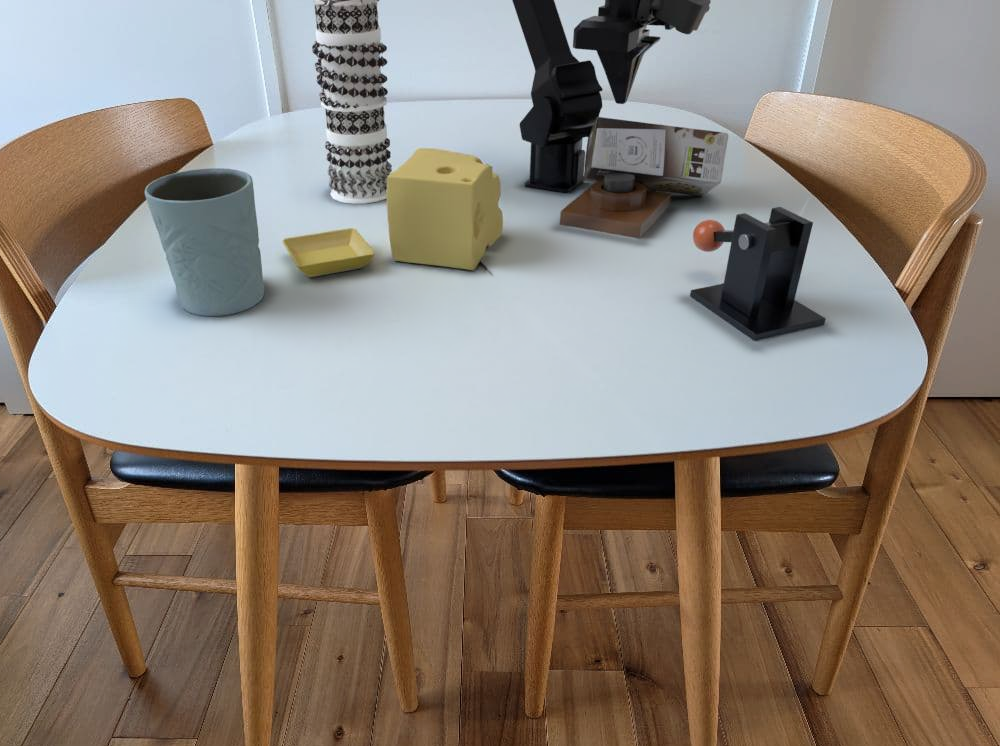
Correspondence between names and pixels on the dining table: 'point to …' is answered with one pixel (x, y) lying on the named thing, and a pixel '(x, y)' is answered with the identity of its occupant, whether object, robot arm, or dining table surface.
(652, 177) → the coffee box
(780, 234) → the lever
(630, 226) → the button block
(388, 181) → the cheese
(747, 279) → the bracket
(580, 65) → the robot arm
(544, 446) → the dining table surface
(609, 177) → the button
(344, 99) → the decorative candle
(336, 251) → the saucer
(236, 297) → the grey green cup
